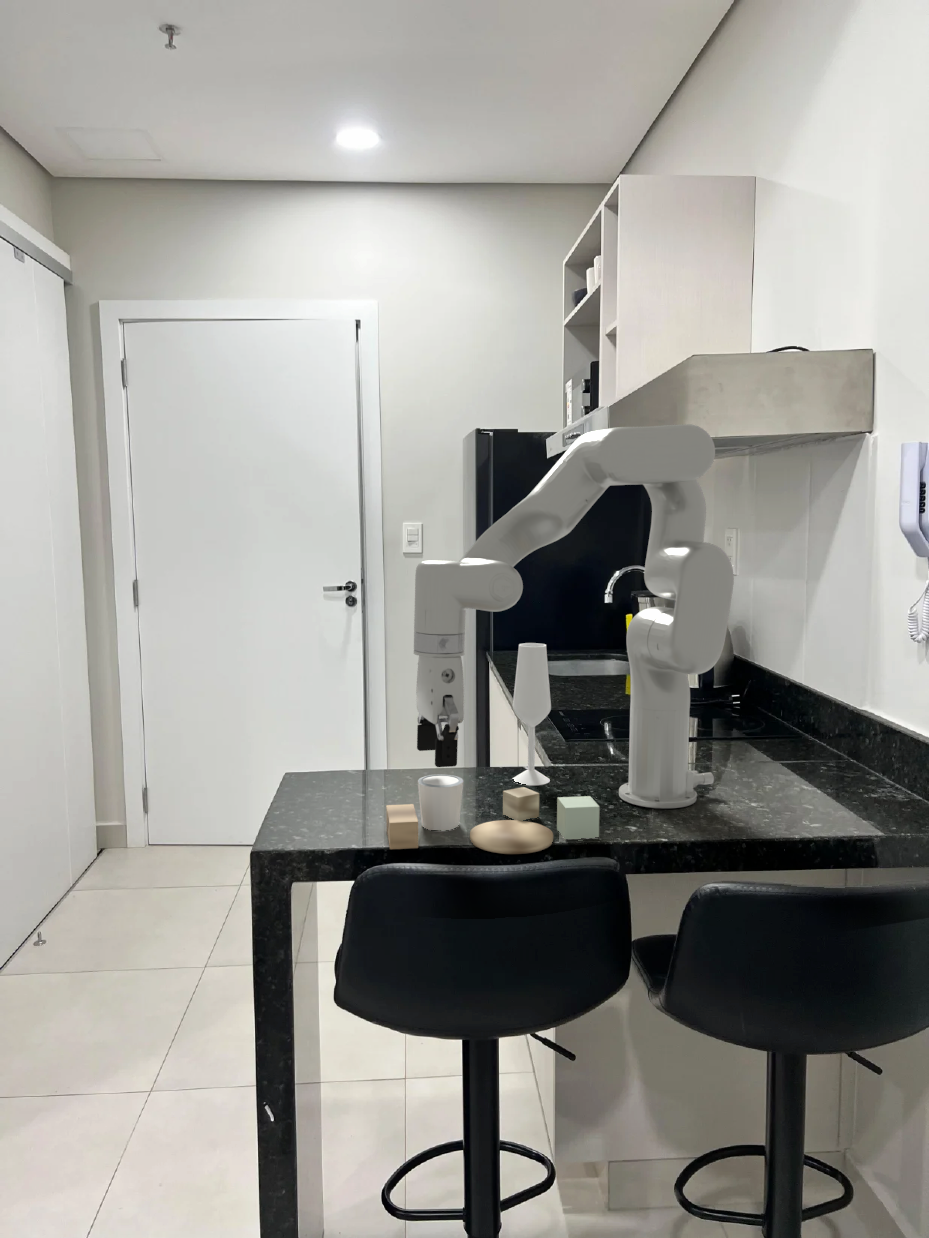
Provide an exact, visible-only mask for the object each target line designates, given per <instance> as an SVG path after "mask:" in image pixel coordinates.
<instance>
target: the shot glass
mask: <svg viewBox="0 0 929 1238" xmlns="http://www.w3.org/2000/svg"><path fill="white" fill-rule="evenodd" d="M463 788H464V779H463V778H462V777H460V776H456V775H454V774H441V773H439V774H428V775H425V776H423V777H420V778H418V780H417V789H418V799H419V801H418V802H419V810H420V819H421V826H422V828H423V827H424V828H423V829H425V828H426V829H425V830H427V829H428V831H431V830H449V829H452V828H454V827H457V826H458V825H459V826H460V822H461V821H460V819H461V818H460V817H461V812H462V811H461V808H462V799H463ZM459 826H458V827H459ZM449 831H450V830H449Z"/></svg>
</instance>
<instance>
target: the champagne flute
mask: <svg viewBox="0 0 929 1238" xmlns="http://www.w3.org/2000/svg"><path fill="white" fill-rule="evenodd" d="M517 650H518V651H517V660H516V661H517V662H516V670H515V679H514V680H515V681H514V690H513V691H514V692H513V699H512V700H513V701H512V710H513V712H514V714H515V715H516V716H517V717H516V718H518V719H519V720H520V721H521V722H522V723H523V724H524V725H526V726H527V731H528V733H527V741H528V742H527V744H528V745H527V769H526V770H524V771H522V772H521V773H519V774H517V775H516V776H514V777H512V779H514V781H515V782H519V783H521V784H520V785H522V784H526V785H525V786H543V785H547V784H548V783H550V781H551V780H550V778H549V777H547V776H545V775H544V774H543V773H541V772H539V771H538V770H536V769H535V763H536V762H535V761H536V760H535V758H536V757H535V755H536V754H535V753H536V752H535V751H536V747H535V746H536V745H535V743H536V742H535V741H536V726H538V725H539V724H541V722H543V721H544V719H546V718H547V717H548V715H549V714H550V712H551V710H552V702H551V691H550V678H549V667H548V666H549V665H548V654H547V653H548V652H547V651H548V650H547V644H545V643H536V642H525V643H519V644H518V649H517ZM515 782H514V783H515Z"/></svg>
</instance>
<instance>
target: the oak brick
mask: <svg viewBox="0 0 929 1238" xmlns="http://www.w3.org/2000/svg"><path fill="white" fill-rule="evenodd" d="M385 807H386V809H385V810H386V812H385V813H386V816H385V817H386V835H387V841H388V845H389V846H388V847H389V850H403V849H405V850H406V849H418V848H419V819H418V816H417V812H416V808H415V805H414V803H409V804H388V805H387V804H386V806H385Z"/></svg>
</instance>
